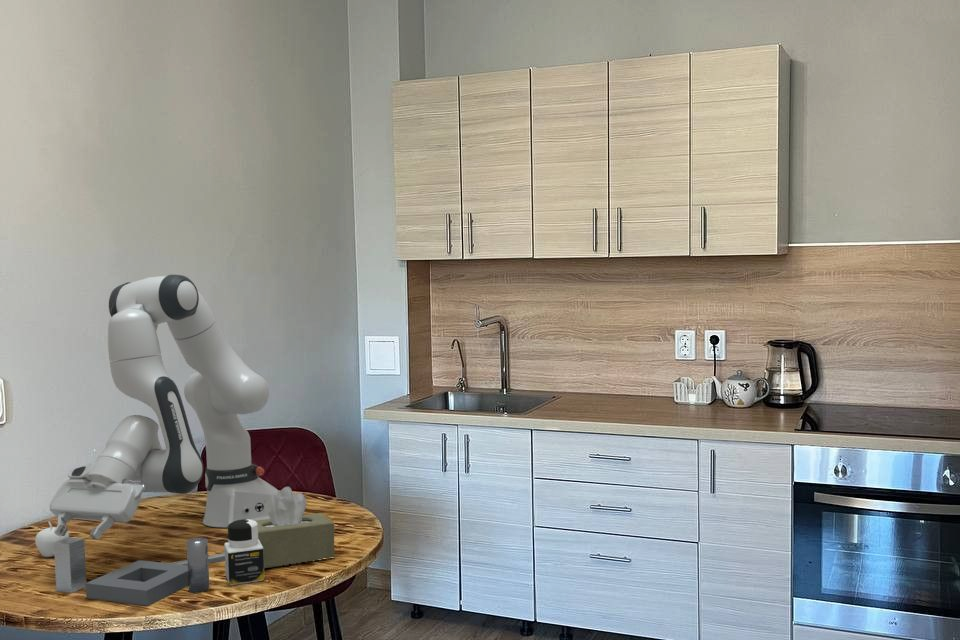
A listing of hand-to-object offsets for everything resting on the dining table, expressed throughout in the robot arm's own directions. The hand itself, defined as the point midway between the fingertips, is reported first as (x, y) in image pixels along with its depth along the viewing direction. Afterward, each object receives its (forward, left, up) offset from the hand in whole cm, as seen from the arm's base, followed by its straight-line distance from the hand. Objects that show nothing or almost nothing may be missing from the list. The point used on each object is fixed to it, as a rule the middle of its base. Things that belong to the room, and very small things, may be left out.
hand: (76, 536), depth 186 cm
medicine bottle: (-31, +13, -11) cm, 36 cm away
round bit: (-22, +15, -10) cm, 29 cm away
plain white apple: (+4, -27, -11) cm, 29 cm away
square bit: (+1, +1, -10) cm, 11 cm away
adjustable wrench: (-27, -3, -11) cm, 30 cm away
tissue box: (-42, +6, -10) cm, 44 cm away
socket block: (-12, +9, -10) cm, 18 cm away
